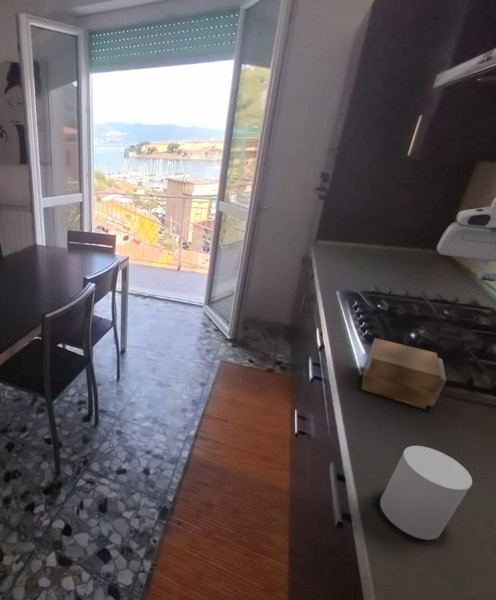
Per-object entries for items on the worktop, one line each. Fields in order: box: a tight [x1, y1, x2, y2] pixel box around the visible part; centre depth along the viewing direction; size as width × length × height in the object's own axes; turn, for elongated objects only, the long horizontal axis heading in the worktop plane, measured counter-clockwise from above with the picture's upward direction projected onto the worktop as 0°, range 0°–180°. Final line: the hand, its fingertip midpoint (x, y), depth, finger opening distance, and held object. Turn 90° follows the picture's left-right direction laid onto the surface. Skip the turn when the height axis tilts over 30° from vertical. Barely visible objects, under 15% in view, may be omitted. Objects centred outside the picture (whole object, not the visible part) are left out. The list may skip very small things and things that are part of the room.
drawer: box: [427, 357, 447, 407], centre depth 88 cm, size 13×10×8 cm
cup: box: [379, 445, 473, 541], centre depth 59 cm, size 8×8×12 cm
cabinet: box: [360, 337, 441, 410], centre depth 90 cm, size 13×12×10 cm
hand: (486, 279), depth 80 cm, fingers closed
